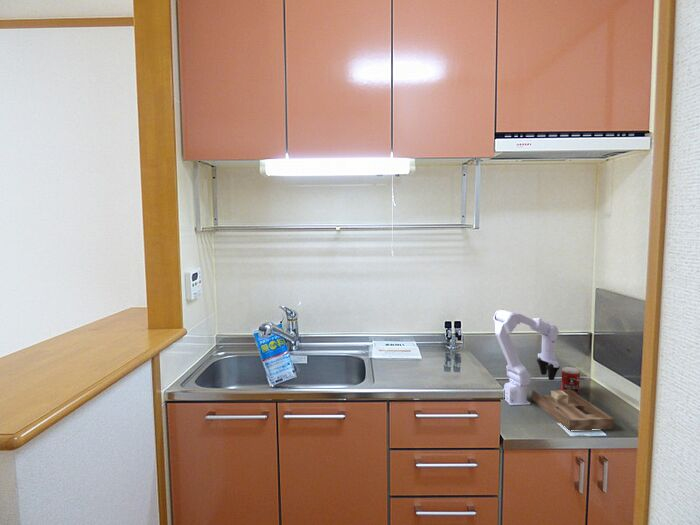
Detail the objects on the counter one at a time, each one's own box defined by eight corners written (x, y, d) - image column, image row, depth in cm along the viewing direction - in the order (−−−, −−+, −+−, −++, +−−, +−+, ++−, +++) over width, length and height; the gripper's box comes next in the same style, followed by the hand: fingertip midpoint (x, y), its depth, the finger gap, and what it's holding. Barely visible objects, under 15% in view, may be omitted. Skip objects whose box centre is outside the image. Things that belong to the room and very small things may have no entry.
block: (557, 404, 177) (557, 395, 177) (550, 399, 182) (551, 390, 182) (567, 403, 178) (568, 394, 177) (561, 398, 183) (561, 390, 182)
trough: (569, 431, 158) (570, 420, 157) (531, 399, 186) (532, 390, 186) (613, 429, 159) (613, 418, 158) (568, 398, 188) (569, 388, 187)
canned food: (562, 393, 193) (562, 371, 192) (560, 387, 200) (561, 366, 199) (580, 396, 190) (581, 373, 189) (577, 389, 197) (578, 367, 196)
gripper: (565, 353, 181) (564, 382, 182) (547, 344, 195) (547, 371, 197) (550, 354, 180) (549, 383, 182) (533, 344, 195) (533, 371, 196)
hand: (547, 377), depth 189 cm, fingers open, 6 cm apart
